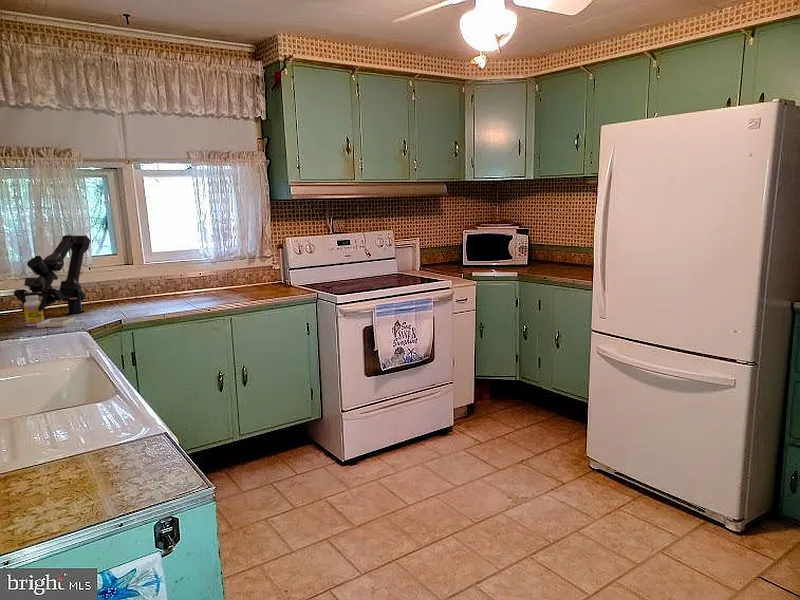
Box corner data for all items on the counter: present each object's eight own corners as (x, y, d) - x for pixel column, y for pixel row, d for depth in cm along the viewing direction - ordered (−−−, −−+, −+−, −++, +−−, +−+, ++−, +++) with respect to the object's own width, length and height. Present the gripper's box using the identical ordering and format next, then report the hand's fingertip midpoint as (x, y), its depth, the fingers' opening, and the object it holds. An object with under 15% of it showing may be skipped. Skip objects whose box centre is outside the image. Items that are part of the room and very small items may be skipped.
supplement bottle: (27, 327, 241) (23, 297, 239) (24, 325, 246) (20, 296, 244) (46, 325, 245) (42, 295, 243) (42, 323, 250) (38, 294, 248)
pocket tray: (51, 322, 251) (50, 318, 250) (76, 321, 252) (76, 317, 251) (37, 328, 239) (36, 323, 239) (63, 326, 240) (63, 322, 240)
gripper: (13, 271, 246) (-2, 300, 237) (55, 269, 245) (42, 299, 236) (27, 286, 255) (14, 315, 246) (68, 285, 255) (56, 314, 245)
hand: (31, 310), depth 243 cm, fingers closed on supplement bottle, 7 cm apart
